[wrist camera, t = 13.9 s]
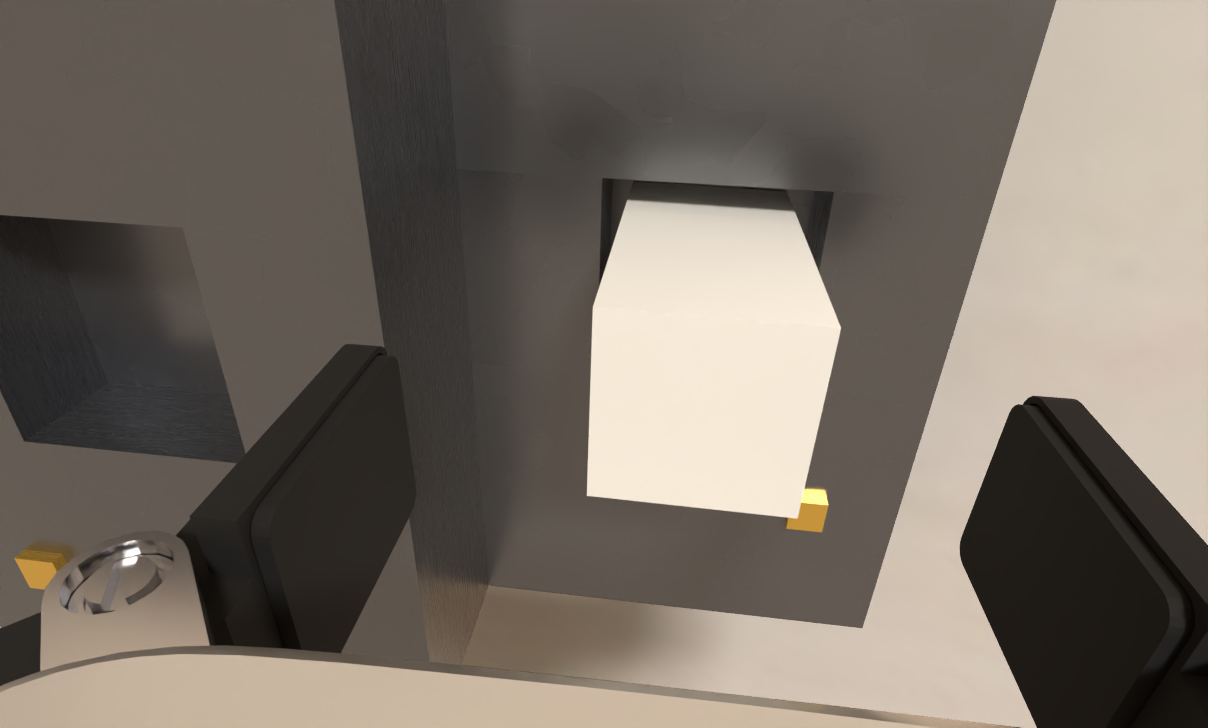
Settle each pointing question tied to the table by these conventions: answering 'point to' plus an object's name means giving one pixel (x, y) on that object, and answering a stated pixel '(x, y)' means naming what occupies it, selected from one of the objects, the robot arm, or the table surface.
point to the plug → (708, 352)
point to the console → (470, 266)
